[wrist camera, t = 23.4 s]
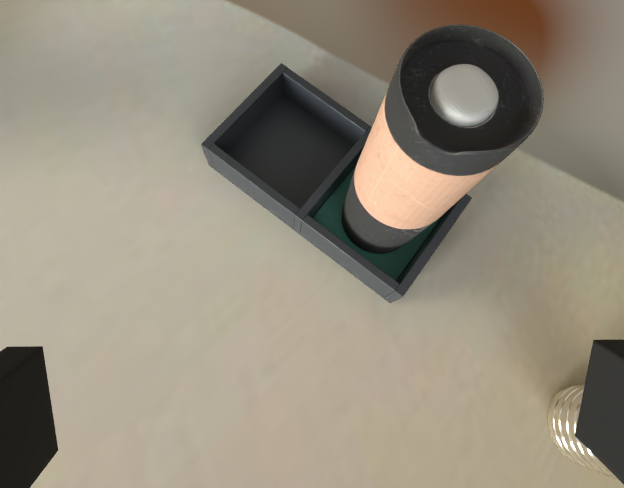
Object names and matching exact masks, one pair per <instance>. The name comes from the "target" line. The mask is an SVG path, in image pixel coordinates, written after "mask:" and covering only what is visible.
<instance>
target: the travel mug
mask: <svg viewBox="0 0 624 488" xmlns="http://www.w3.org/2000/svg"><path fill="white" fill-rule="evenodd" d="M543 100H544V98H543V89H542V84H541V81H540V78H539V75H538V73H537V71H536V69H535V67H534V66H533V64H532V63H531V61H530V60H529V59H528V58H527V56H526V55H525V54H524V53H523V52H522V51H521V50H520V49H519V48H518V47H517V46H516V45H514V44H513V43H512V42H510V41H509V40H507V39H506V38H504V37H503V36H501V35H499V34H497V33H495V32H492V31H489V30H487V29H484V28H480V27H476V26H470V25H448V26H443V27H439V28H436V29H433V30H430V31H428V32H426V33H424V34H423V35H421V36H420V37H418V38H417V39H416V40H415V41H414V42H413V43H411V45H410V46H409V47H408V48H407V50H406V51H405V53H404V54H403V56H402V58H401V60H400V62H399V64H398V66H397V69H396V71H395V73H394V76H393V78H392V81H391V83H390V85H389V88H388V90H387V93H386V95H385V97H384V100H383V102H382V105H381V107H380V109H379V112H378V114H377V117H376V119H375V121H374V124H373V126H372V129H371V131H370V133H369V136H368V138H367V141H366V143H365V145H364V148H363V150H362V153H361V155H360V157H359V160H358V162H357V165H356V168H355V171H354V174H353V177H352V180H351V183H350V186H349V189H348V192H347V195H346V199H345V202H344V205H343V209H342V225H343V228H344V231H345V233H346V235H347V236H348V238H349V239H350V240H351V242H352V243H353V244H355V245H356V246H357V247H359V248H360V249H362V250H364V251H367V252H370V253H375V254H385V253H390V252H393V251H395V250H397V249H399V248H400V247H402V246H403V245H405V244H406V243H407V242H409V241H410V240H411V239H413V238H414V237H415V236H417V235H418V234H419V233H421V232H422V231H423V230H424V229H426V228H427V227H428V226H430V225H431V224H432V223H434V222H435V221H436V220H437V219H438V218H440V217H441V216H442V215H443V214H444V213H445V212H446V211H447V210H449V209H450V208H451V207H452V206H453V205H454V204H455V203H456V202H457V201H459V200H460V199H461V198H462V197H463V196H464V195H465V194H466V193H467V192H468V191H470V190H471V189H472V188H473V187H474V186H475V185H476V184H477V183H478V182H480V181H481V180H482V179H483V178H484V177H485V176H486V175H487V174H488V173H489V172H491V171H492V170H493V169H494V168H495V167H496V166H497V165H498V164H499V163H501V162H502V161H503V160H504V159H505V158H506V157H507V156H508V155H509V154H511V153H512V152H513V151H514V150H515V149H516V148H517V147H518V146H519V145H520V144H522V143H523V142H524V141H525V140H526V139H527V138H528V136H529V135H530V134H531V133H532V132H533V130H534V129H535V127H536V125H537V124H538V121H539V119H540V117H541V113H542V109H543Z"/></svg>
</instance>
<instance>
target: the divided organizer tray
mask: <svg viewBox="0 0 624 488" xmlns="http://www.w3.org/2000/svg"><path fill="white" fill-rule="evenodd" d="M371 129H372V127H370V126H369V125H368V124H366V123H365V122H364V121H362V120H361V119H359V118H358V117H356V116H355V115H354V114H352V113H351V112H349V111H348V110H347V109H345V108H344V107H342V106H341V105H339V104H338V103H337V102H335V101H334V100H332V99H331V98H330V97H328V96H327V95H325V94H324V93H322V92H321V91H320V90H318V89H317V88H315V87H314V86H313V85H311V84H310V83H308V82H307V81H306V80H304V79H303V78H301V77H300V76H298V75H297V74H296V73H294V72H293V71H291V70H290V69H289V68H287V67H286V66H285V65H283V64H282V63H281V64H280V65H279V66H278V67H277V68H276V69H275V70H274V71H273V72H272V73H271V74H270V75H269V76H268V77H267V78H266V79H265V80H264V81H263V82H262V83H261V84H260V85H259V86H258V87H257V88H256V89H255V90H254V91H253V92H252V93H251V94H250V95H249V96H248V97H247V98H246V99H245V100H244V102H243V103H242V104H241V105H240V106H239V107H238V108H237V109H236V110H235V111H234V112H233V113H232V114H231V115H230V116H229V117H228V118H227V119H226V120H225V121H224V122H223V123H222V124H221V125H220V126H219V127H218V128H217V129H216V130H215V131H214V132H213V133H212V134H211V135H210V136H209V137H208V138H207V139H206V140H205V141H204V142H203V143H202V144H201V145H202V148H203V150H204V153H205V156H206V158H207V161H208V163H209V165H210V166H211V167H212V168H214V169H215V170H216V171H218V172H219V173H220V174H221V175H223V176H224V177H225V178H227V179H228V180H229V181H231V182H232V183H233V184H235V185H236V186H237V187H239V188H240V189H241V190H242V191H244V192H245V193H246V194H248V195H249V196H250V197H252V198H253V199H254V200H256V201H257V202H258V203H260V204H261V205H262V206H263V207H265V208H266V209H267V210H269V211H270V212H271V213H273V214H274V215H275V216H277V217H278V218H279V219H280V220H282V221H283V222H284V223H286V224H287V225H288V226H290V227H291V228H292V229H294V230H295V231H296V232H298V233H299V234H300V235H301V236H303V237H304V238H305V239H307V240H308V241H309V242H311V243H312V244H313V245H315V246H316V247H317V248H319V249H320V250H321V251H322V252H324V253H325V254H326V255H328V256H329V257H330V258H332V259H333V260H334V261H336V262H337V263H338V264H340V265H341V266H342V267H343V268H345V269H346V270H347V271H349V272H350V273H351V274H353V275H354V276H355V277H357V278H358V279H359V280H361V281H362V282H363V283H364V284H366V285H367V286H368V287H370V288H371V289H372V290H374V291H375V292H376V293H378V294H379V295H380V296H382V297H383V298H384V299H385V300H387V301H388V302H389V303H391V302H393V301H395V300H397V299H399V298H401V297H403V296H404V294H405V293H406V292H407V290H408V289H409V287H410V286H411V284H412V283H413V282H414V280H415V279H416V277H417V276H418V274H419V273H420V272H421V270H422V269H423V267H424V266H425V264H426V263H427V262H428V260H429V259H430V257H431V256H432V254H433V253H434V252H435V250H436V249H437V247H438V246H439V244H440V243H441V242H442V240H443V239H444V237H445V236H446V234H447V233H448V232H449V230H450V229H451V227H452V226H453V224H454V223H455V222H456V220H457V219H458V217H459V216H460V214H461V213H462V212H463V210H464V209H465V207H466V206H467V204H468V203H469V201H470V200H471V199H472V198H471V197H470V196H468V195H467V194H465V195H464V196H463V197H462V198H461V199H460V200H459V201H457V202H456V203H455V204H454V205H453V206H452V207H451V208H450V209H449V210H447V211H446V212H445V213H444V214H443V215H442V216H441V217H440V218H438V219H437V220H436V221H435V222H434V223H432V224H431V225H430V226H428V227H427V228H426V229H424V230H423V231H422V232H421V233H419V234H418V235H417V236H415V237H414V238H413V239H411V240H410V241H409V242H407V243H406V244H405V245H403V246H402V247H400V248H399V249H397V250H395V251H393V252H390V253H385V254H375V253H370V252H367V251H364V250H362V249H360V248H359V247H357V246H356V245H355V244H353V243H352V242H351V240H350V239H349V238H348V236H347V235H346V233H345V231H344V228H343V225H342V209H343V205H344V202H345V199H346V195H347V192H348V189H349V186H350V183H351V180H352V177H353V174H354V171H355V168H356V165H357V162H358V160H359V157H360V155H361V153H362V150H363V148H364V145H365V143H366V141H367V138H368V136H369V133H370V131H371Z"/></svg>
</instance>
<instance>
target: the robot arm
mask: <svg viewBox="0 0 624 488" xmlns="http://www.w3.org/2000/svg"><path fill="white" fill-rule="evenodd" d="M575 437H576V438H577V439H578V440H579V441H580V442H581V443H582V444H583V445H584V446H585V447H586V448H587V449H588V450H589V451H590V452H592V453H593V454H594V455H595V456H596V457H597V458H598V459H599V460H600V461H601V462H602V463H603V464H604V465H605V466H606V467H607V468H608V469H609V470H610V471H611V472H612V473H613V474H614V475H615V476H616V477H617V478H618V479H619V480H620V481H621V482H622V483H623V484H624V340H594V341H593V346H592V351H591V356H590V361H589V366H588V371H587V376H586V381H585V386H584V391H583V396H582V401H581V406H580V411H579V416H578V421H577V426H576V431H575ZM57 451H58V446H57V439H56V433H55V426H54V420H53V413H52V406H51V400H50V393H49V386H48V380H47V373H46V366H45V360H44V353H43V347H6V348H5V349H3V350H2V351H1V352H0V488H30V487H31V485H32V484H33V483H34V481H35V480H36V479H37V477H38V476H39V475H40V473H41V472H42V471H43V470H44V468H45V467H46V466H47V464H48V463H49V462H50V460H51V459H52V458H53V456H54V455H55V454H56V452H57Z"/></svg>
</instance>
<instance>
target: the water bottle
mask: <svg viewBox="0 0 624 488" xmlns="http://www.w3.org/2000/svg"><path fill="white" fill-rule="evenodd" d="M584 386H585V385H574V386H569V387H566V388H564V389H562V390H561V391H559V392H558V393H557V394H556V395H555V396H554V398H553V399H552V401H551V403H550V405H549V409H548V415H547V421H548V428H549V432H550V435H551V437H552V439H553V441H554V443H555V444H556V446H557V447H558V448H559V450H560V451H561V452H562V453H563V454H564V455H565V456H566V457H568V458H569V459H570V460H572V461H574V462H575V463H577V464H579V465H581V466H583V467H585V468H588V469H590V470H593V471H596V472H598V473H601V474H604V475H606V476H609V477H612V478H614V479H617V480H619V479H618V478H617V477H616V476H615V475H614V474H613V473H612V472H611V471H610V470H609V469H608V468H607V467H606V466H605V465H604V464H603V463H602V462H601V461H600V460H599V459H598V458H597V457H596V456H595V455H594V454H593V453H592V452H590V451H589V450H588V449H587V448H586V447H585V446H584V445H583V444H582V443H581V442H580V441H579V440H578V439H577V438H576V437H575V431H576V426H577V421H578V416H579V411H580V406H581V401H582V396H583V391H584Z"/></svg>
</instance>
